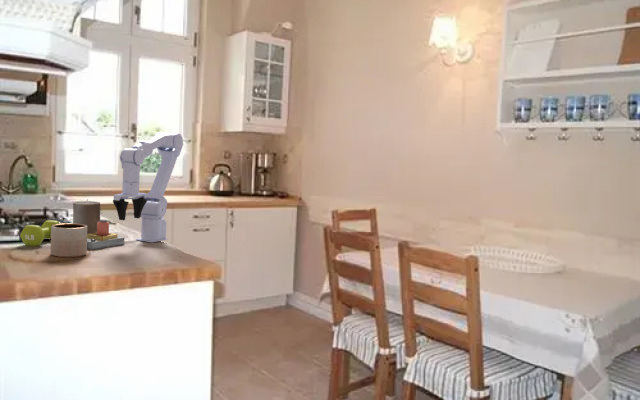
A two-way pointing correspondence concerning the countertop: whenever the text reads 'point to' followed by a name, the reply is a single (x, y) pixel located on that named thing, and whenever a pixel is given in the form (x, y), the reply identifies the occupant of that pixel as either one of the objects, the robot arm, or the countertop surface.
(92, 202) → the pillar candle
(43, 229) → the dumbbell
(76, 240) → the planter
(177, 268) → the countertop surface
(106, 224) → the oil can
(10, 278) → the countertop surface
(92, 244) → the grey flat block
